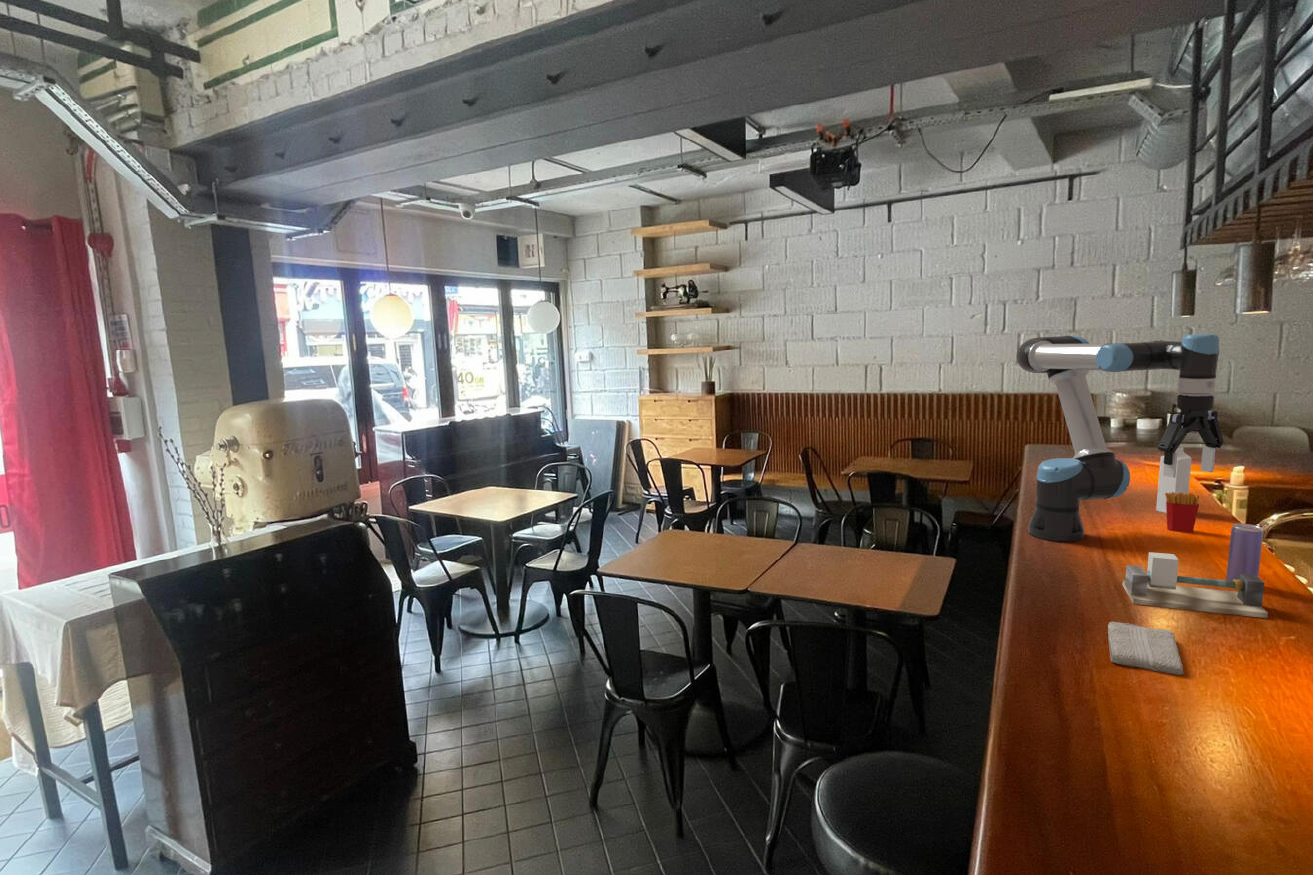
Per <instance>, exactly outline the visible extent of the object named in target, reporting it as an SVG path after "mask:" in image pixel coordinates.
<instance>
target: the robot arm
mask: <svg viewBox="0 0 1313 875" xmlns="http://www.w3.org/2000/svg"><path fill="white" fill-rule="evenodd" d="M1219 354H1220V338H1219V336H1218V335H1217V334H1214V333H1212V334H1211V333H1205V334H1204V333H1196V334H1195V333H1194V334H1193V333H1191V334H1186V335H1185V334H1184V335H1183V337H1182V341H1173V340H1172V341H1170V340H1150V341H1146V342H1145V341H1144V342H1143V341H1142V342H1123V343H1122V342H1121V343H1120V342H1117V343H1090V342H1089V341H1088V340H1087V339H1085V338H1083V337H1081V336H1079V335H1077V336H1076V335H1075V336H1074V335H1063V336H1046V337H1045V336H1044V337H1041V336H1040V337H1034V338H1030V339H1028V340H1026V341H1025V342H1023V343H1022V344H1021V345H1020V347H1019V348H1018V350H1017V352H1016V360H1017V363H1018V366H1019V367H1020V368H1021V369H1022V370H1023V371H1026V372H1028V373H1032V374H1046V375H1047V379H1048V381H1049V382H1050V383H1052V384H1054V385H1055V386H1056V391H1057V394H1058V398H1059V401H1060V405H1061V408H1062V412H1063V415H1064V418H1065V424H1066V425H1067V430H1068V434H1069V437H1070V440H1071V444H1072V447H1073V450H1074V456H1073V457H1072V458H1071V457H1070V458H1069V457H1064V458H1061V457H1060V458H1059V457H1058V458H1050V459H1046V460H1043V461H1041V463H1040V464H1039V465H1038V468H1037V473H1036V474H1037V475H1036V492H1035V493H1036V497H1035V509H1034V512H1033V514H1032V516H1031V518H1030V520H1029V523H1028V524H1027V526H1028V527H1027V531H1028V534H1030V535H1031V536H1033V537H1036V538H1038V539H1042V540H1047V541H1051V542H1052V541H1053V542H1065V543H1066V542H1078V541H1081V540H1084V539H1085V527H1084V525H1083V521H1082V519H1081V515H1080V503H1081V502H1080V501H1090V500H1101V499H1102V500H1108V499H1113V498H1118V497H1120V496H1122V495H1123V494H1125V492H1126V491H1127V490H1128V487H1129V485H1130V482H1131V473H1130V468H1129V467H1128V465H1127V464H1126V463H1125V462H1124V461H1122V460H1119V459H1116V455H1115V452H1114V451H1113V450H1110V449H1109V448H1107V445H1106V443H1105V442H1106V441H1105V438H1104V435H1103V432H1102V428H1101V425H1100V420H1099V418H1098V414H1097V412H1096V411H1097V410H1096V407H1095V404H1094V401H1093V397H1092V395H1091V391H1090V387H1089V384H1088V381H1087V376H1088V375H1089V373H1090V371H1102V372H1107V373H1121V372H1130V371H1131V372H1132V371H1151V370H1152V371H1153V370H1174V371H1179V376H1178V377H1179V378H1178V383H1177V384H1178V385H1177V393H1179V394H1178V395H1177V397H1176V398H1177V399H1176V408H1177V409H1178V410H1180V411H1179V412H1180V413H1179V414H1178V413H1177V414H1176V413H1171V414H1170V415H1169V419H1168V423H1167V425H1166V428H1165V431H1164V433H1163V435H1162V437H1161V439H1160V441H1159V444H1158V446H1157V450H1159V451H1160V452H1163V453H1164V455H1163V456H1164V471H1163V476H1167V477H1172V478H1175V477H1176V467H1177V456H1178V453H1175V451H1176V450H1177V448H1180V445H1181V444H1182V442H1183V441H1184V439H1185V438H1186V437H1187V435H1188V434H1189V433H1191V432H1193V431H1195V430H1196V431H1197V433H1198V434H1199V435H1200V437H1201V440H1202V441H1203V443H1204V445H1205V446H1202V452H1201V465H1200V471H1201V472H1207V473H1214V470H1215V469H1214V468H1215V460H1216V452H1217V449H1221V448H1222V445H1223V444H1224V442H1225V441H1224V438H1223V435H1222V430H1221V428H1220V424H1219V420H1218V417H1219V416H1218V411H1216V410H1213V409H1214V402H1215V396H1214V395H1212V394H1214V393H1215V389H1216V378H1217V370H1218V369H1217V368H1218V361H1219Z"/></svg>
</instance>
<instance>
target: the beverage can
mask: <svg viewBox="0 0 1313 875" xmlns="http://www.w3.org/2000/svg"><path fill="white" fill-rule="evenodd" d="M1263 530H1264V528H1263V527H1261V526H1259V525H1256V524H1249V523H1234V524H1232V528H1231V530H1230V539H1229V540H1230V541H1229V547H1228V548H1229V549H1228V559H1227V567H1226V574H1225V575H1226V576H1225V580H1227V581H1233V579H1239V576H1240V574H1251V575H1257V576H1258V577H1259V574H1260V566H1261V565H1260V564H1261V556H1262V549H1263V548H1262V547H1263V539H1264V532H1263Z"/></svg>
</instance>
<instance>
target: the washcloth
mask: <svg viewBox="0 0 1313 875" xmlns="http://www.w3.org/2000/svg"><path fill="white" fill-rule="evenodd" d="M1107 630H1108V631H1107V634H1108V635H1107V637H1108V649H1109V652H1110V653H1109V657H1110V661H1111V662H1112V663H1114V664H1117V665H1122V666H1129V667H1133V668H1134V667H1136V668H1140V669H1145V670H1151V671H1155V672H1159V673H1167V674H1171V673H1172V675H1177V676H1180V675H1184V668H1183V667H1184V666H1183V663H1182V659H1181V656H1180V653H1179V649H1178V645H1177V642H1176V637H1175V635H1174V634H1175V633H1174V632H1173V631H1171V630H1169V629H1162V628H1151V627H1143V626H1141V625H1140V626H1139V625H1137V624H1132V623H1128V622H1127V623H1125V622H1116V621H1110V622H1109V623H1108V624H1107Z"/></svg>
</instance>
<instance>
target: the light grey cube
mask: <svg viewBox="0 0 1313 875" xmlns="http://www.w3.org/2000/svg"><path fill="white" fill-rule="evenodd" d="M1179 560H1180V559H1179V558H1178V557H1177V556H1176V555H1175V554H1174V553H1173V554H1172V553H1164V552H1163V553H1162V552H1151V551H1150V552H1148V557H1147V569H1146V570H1147V571H1146V573H1151V575H1150V580H1148V582H1147V583H1148V584H1149V586H1150V587H1154V588H1164V589H1174V590H1176V586H1177V576H1178V572H1179V571H1178V570H1179Z"/></svg>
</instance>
